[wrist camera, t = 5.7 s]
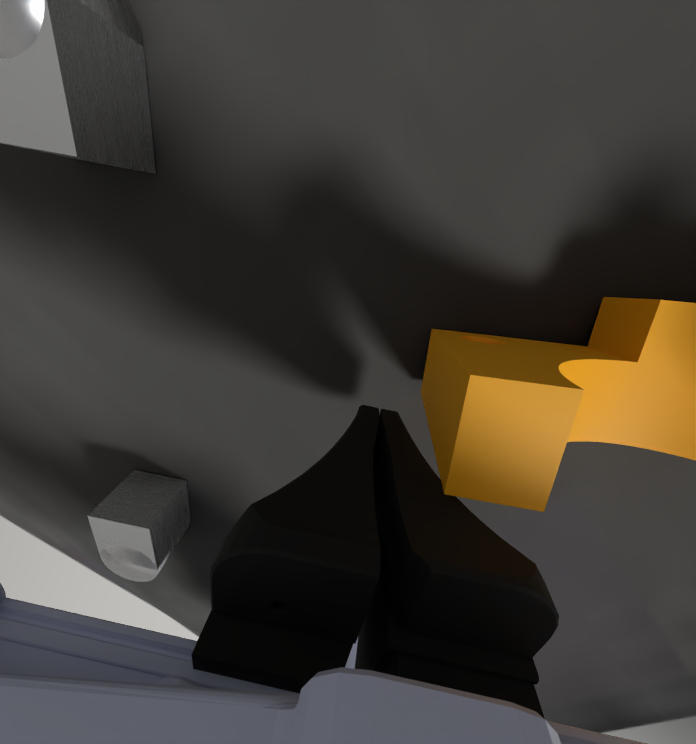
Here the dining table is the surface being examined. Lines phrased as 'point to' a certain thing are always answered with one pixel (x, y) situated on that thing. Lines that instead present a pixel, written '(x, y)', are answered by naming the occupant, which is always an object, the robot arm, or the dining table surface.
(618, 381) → the pipe clamp
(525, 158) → the dining table surface
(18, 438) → the dining table surface
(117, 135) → the chain ends
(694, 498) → the dining table surface
